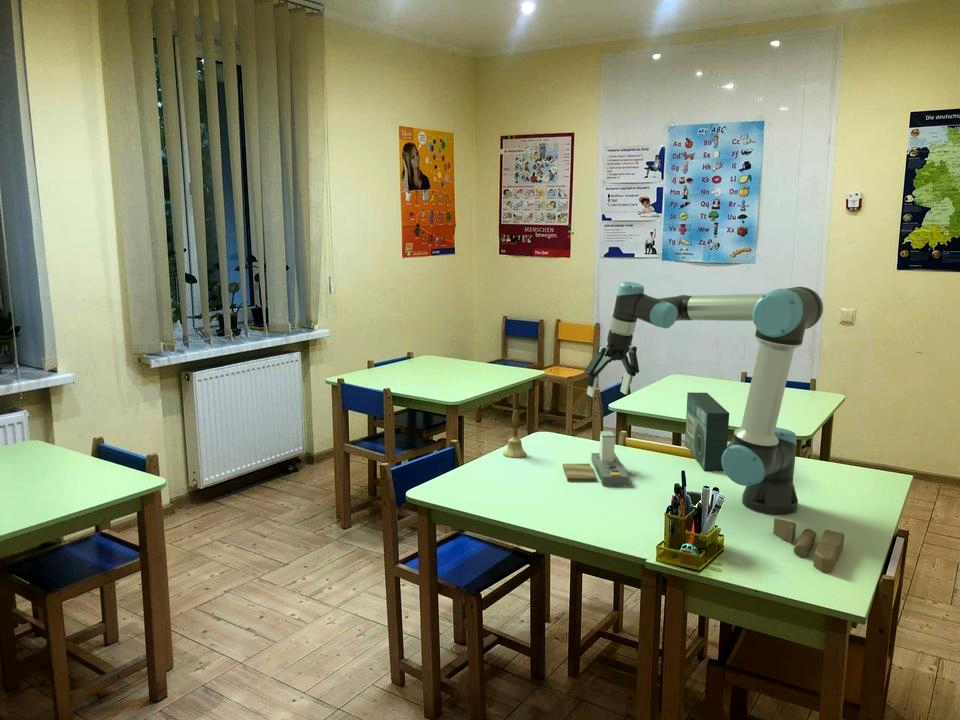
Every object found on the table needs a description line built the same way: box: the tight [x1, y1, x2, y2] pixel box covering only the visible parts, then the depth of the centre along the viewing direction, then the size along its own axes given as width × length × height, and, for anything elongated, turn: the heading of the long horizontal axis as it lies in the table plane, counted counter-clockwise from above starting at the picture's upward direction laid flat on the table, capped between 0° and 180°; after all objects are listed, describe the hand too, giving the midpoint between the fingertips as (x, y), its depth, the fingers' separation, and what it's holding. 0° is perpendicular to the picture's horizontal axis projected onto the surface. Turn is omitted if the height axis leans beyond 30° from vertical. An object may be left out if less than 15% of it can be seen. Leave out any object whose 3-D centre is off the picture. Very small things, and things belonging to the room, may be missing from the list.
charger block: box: [599, 430, 616, 462], centre depth 248 cm, size 5×4×12 cm
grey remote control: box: [590, 452, 630, 486], centre depth 244 cm, size 24×8×4 cm, turn 0°
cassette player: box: [684, 391, 730, 473], centre depth 259 cm, size 29×7×20 cm, turn 177°
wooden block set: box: [772, 517, 845, 574], centre depth 186 cm, size 17×6×18 cm
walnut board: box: [562, 463, 597, 483], centre depth 244 cm, size 14×9×1 cm, turn 0°
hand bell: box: [502, 410, 527, 459], centre depth 263 cm, size 8×8×16 cm
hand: (607, 394), depth 238 cm, fingers open, 13 cm apart
